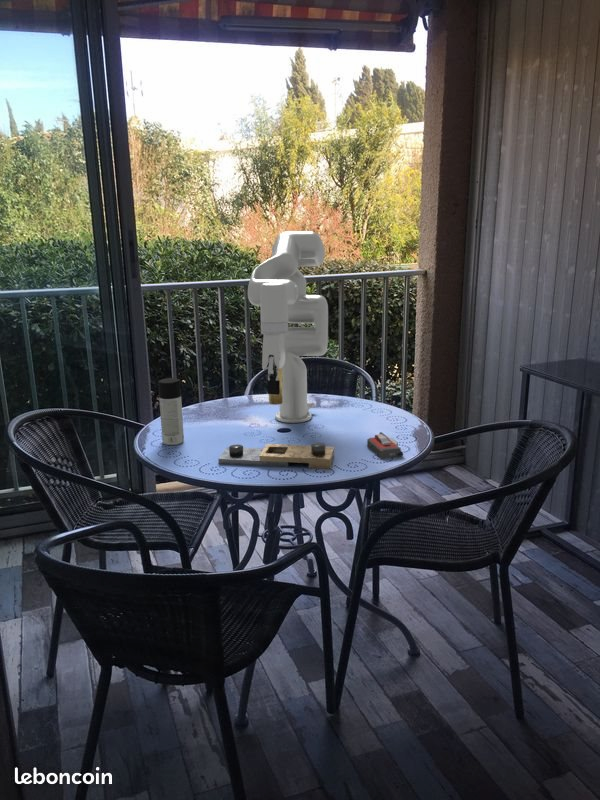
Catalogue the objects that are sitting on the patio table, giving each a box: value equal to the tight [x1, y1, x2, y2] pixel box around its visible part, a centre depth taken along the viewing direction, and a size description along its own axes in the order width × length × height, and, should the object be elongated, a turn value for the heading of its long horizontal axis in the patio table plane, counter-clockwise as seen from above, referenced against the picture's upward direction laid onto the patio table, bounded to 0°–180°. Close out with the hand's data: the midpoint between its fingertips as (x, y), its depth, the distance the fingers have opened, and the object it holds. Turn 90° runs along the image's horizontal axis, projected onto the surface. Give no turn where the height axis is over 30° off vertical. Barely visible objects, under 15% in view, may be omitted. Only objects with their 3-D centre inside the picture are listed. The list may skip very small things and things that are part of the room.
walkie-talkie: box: [366, 431, 404, 460], centre depth 201 cm, size 9×4×20 cm
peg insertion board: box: [218, 442, 335, 470], centre depth 191 cm, size 10×32×5 cm, turn 81°
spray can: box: [157, 377, 185, 446], centre depth 205 cm, size 7×7×20 cm
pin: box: [268, 365, 283, 406], centre depth 188 cm, size 4×4×12 cm
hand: (275, 391), depth 188 cm, fingers closed on pin, 4 cm apart
